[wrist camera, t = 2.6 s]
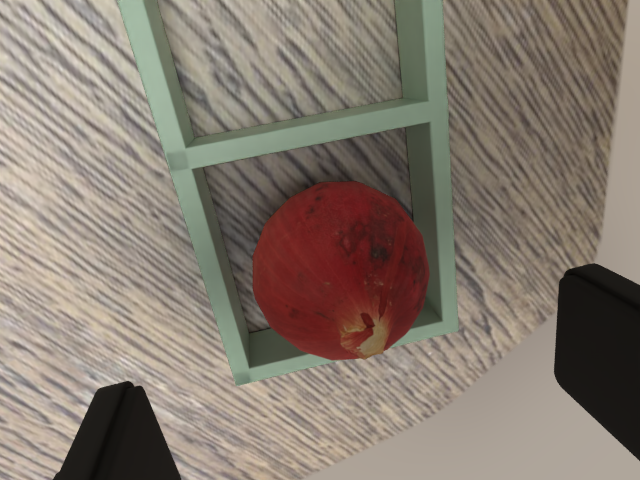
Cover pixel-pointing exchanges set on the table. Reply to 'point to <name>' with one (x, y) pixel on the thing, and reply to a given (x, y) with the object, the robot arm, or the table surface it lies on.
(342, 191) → the red pomegranate
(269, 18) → the table surface
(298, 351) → the green rectangular frame
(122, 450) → the robot arm
